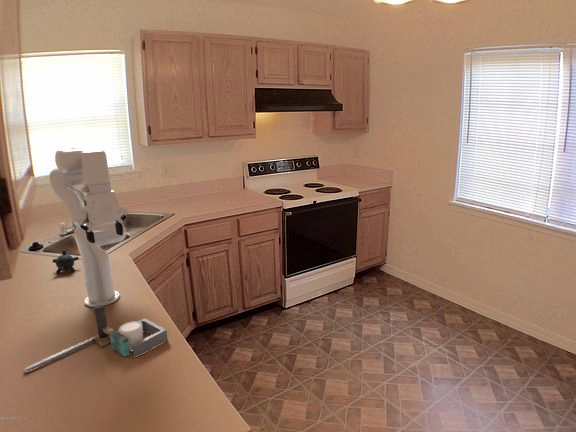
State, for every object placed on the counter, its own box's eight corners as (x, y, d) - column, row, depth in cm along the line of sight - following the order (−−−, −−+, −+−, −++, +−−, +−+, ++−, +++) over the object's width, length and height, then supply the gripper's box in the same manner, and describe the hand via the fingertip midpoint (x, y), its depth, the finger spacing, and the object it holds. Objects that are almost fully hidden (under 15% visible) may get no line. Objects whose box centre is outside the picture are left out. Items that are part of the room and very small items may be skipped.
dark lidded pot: (43, 272, 179) (50, 256, 189) (66, 283, 184) (71, 267, 194) (57, 256, 176) (64, 242, 187) (79, 268, 182) (85, 253, 192)
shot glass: (120, 354, 120) (117, 334, 119) (122, 342, 127) (119, 323, 125) (144, 350, 122) (141, 329, 121) (145, 338, 129) (142, 319, 127)
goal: (114, 344, 126) (112, 332, 125) (146, 328, 134) (144, 318, 133) (135, 358, 119) (134, 346, 117) (167, 341, 127) (166, 329, 126)
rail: (24, 371, 114) (23, 368, 113) (105, 334, 132) (105, 331, 131) (26, 373, 113) (25, 370, 113) (107, 336, 131) (107, 332, 130)
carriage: (94, 341, 127) (88, 307, 124) (108, 335, 130) (102, 302, 127) (120, 359, 117) (114, 323, 114) (134, 352, 121) (128, 317, 118)
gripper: (76, 194, 120) (85, 247, 125) (129, 185, 133) (135, 233, 138) (65, 192, 125) (74, 243, 129) (117, 183, 138) (124, 230, 142)
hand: (106, 238), depth 133 cm, fingers open, 9 cm apart
